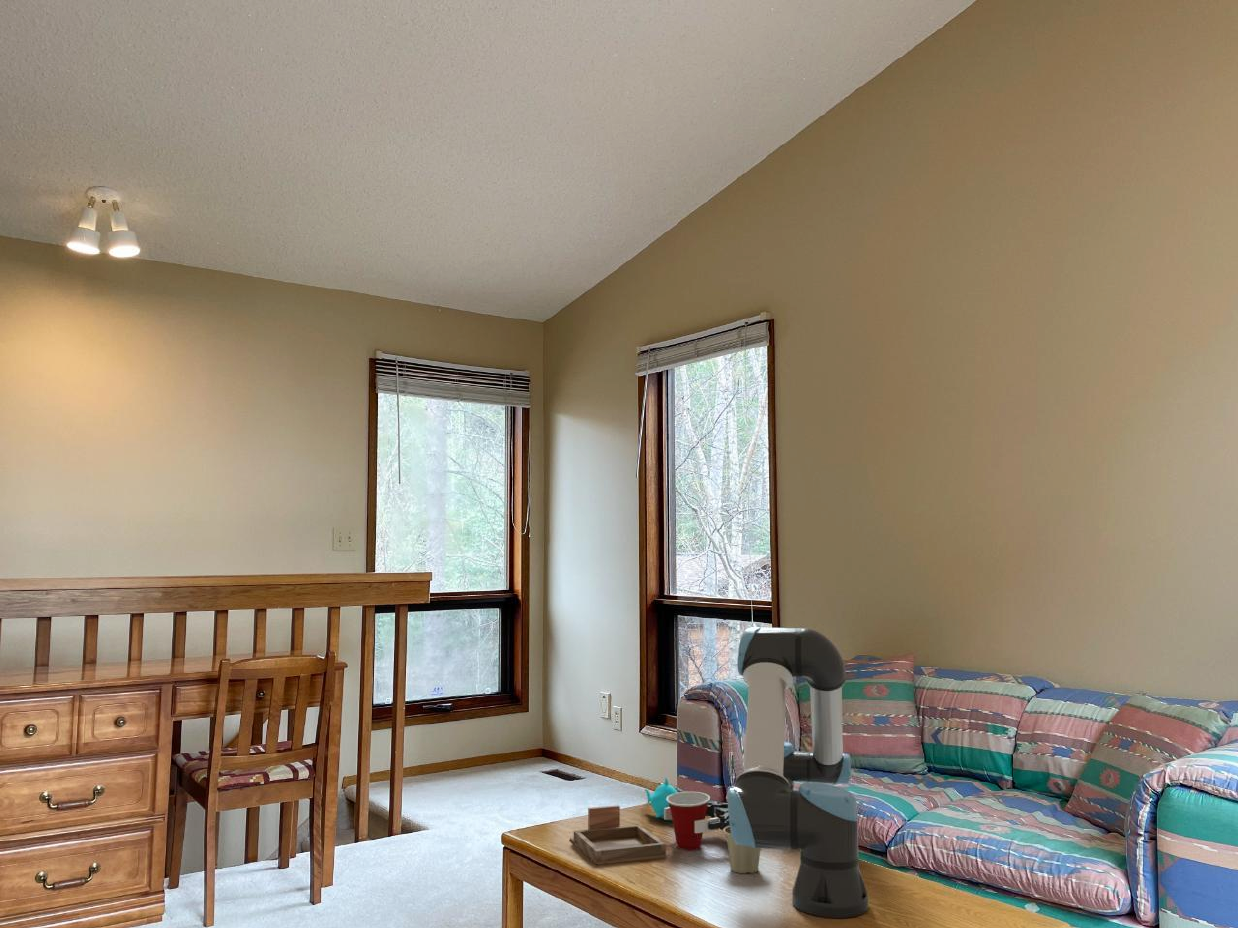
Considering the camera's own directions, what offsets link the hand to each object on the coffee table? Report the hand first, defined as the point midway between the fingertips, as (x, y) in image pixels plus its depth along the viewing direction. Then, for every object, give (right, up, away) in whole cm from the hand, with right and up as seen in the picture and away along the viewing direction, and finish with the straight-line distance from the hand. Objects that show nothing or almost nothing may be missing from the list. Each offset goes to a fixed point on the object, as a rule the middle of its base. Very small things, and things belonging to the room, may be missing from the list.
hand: (679, 820), depth 234 cm
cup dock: (-15, -6, -1) cm, 17 cm away
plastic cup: (+2, -7, 0) cm, 7 cm away
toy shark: (-2, -9, +26) cm, 28 cm away
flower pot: (+14, -5, -17) cm, 22 cm away
